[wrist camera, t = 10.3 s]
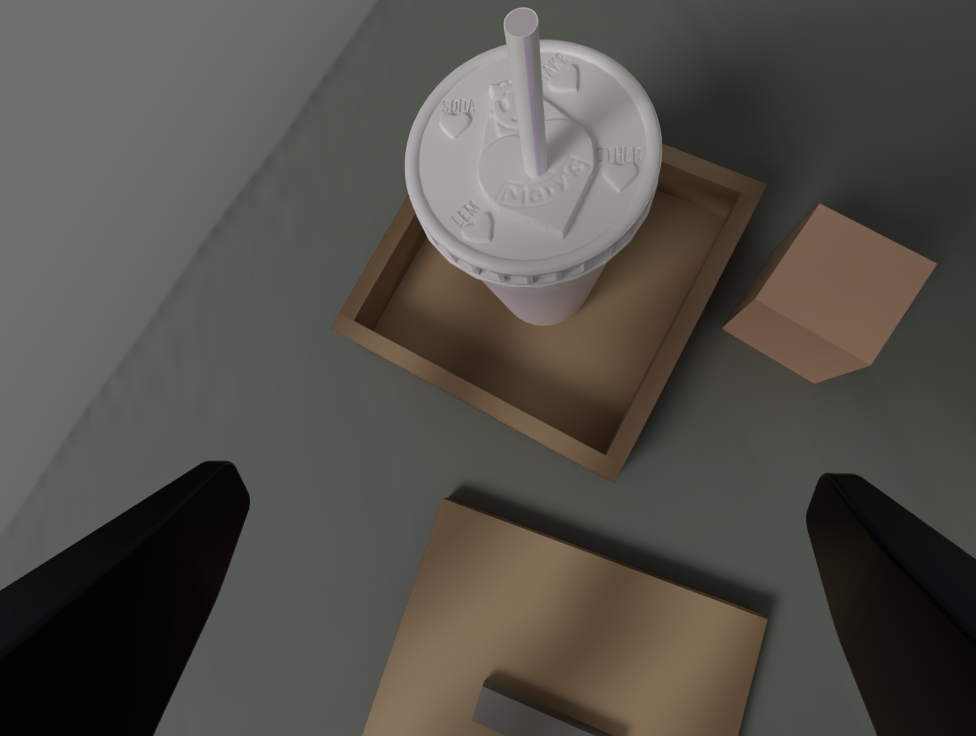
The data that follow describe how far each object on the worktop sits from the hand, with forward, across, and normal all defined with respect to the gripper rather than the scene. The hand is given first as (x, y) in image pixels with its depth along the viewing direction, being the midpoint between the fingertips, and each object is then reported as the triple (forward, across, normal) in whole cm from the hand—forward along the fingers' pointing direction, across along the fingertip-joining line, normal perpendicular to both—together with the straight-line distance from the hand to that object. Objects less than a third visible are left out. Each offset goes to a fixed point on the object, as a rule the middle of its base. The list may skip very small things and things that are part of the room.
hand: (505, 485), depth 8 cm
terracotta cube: (+11, -10, +2) cm, 15 cm away
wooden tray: (+15, 0, +4) cm, 16 cm away
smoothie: (+15, 0, +4) cm, 15 cm away
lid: (+3, 0, +16) cm, 16 cm away
